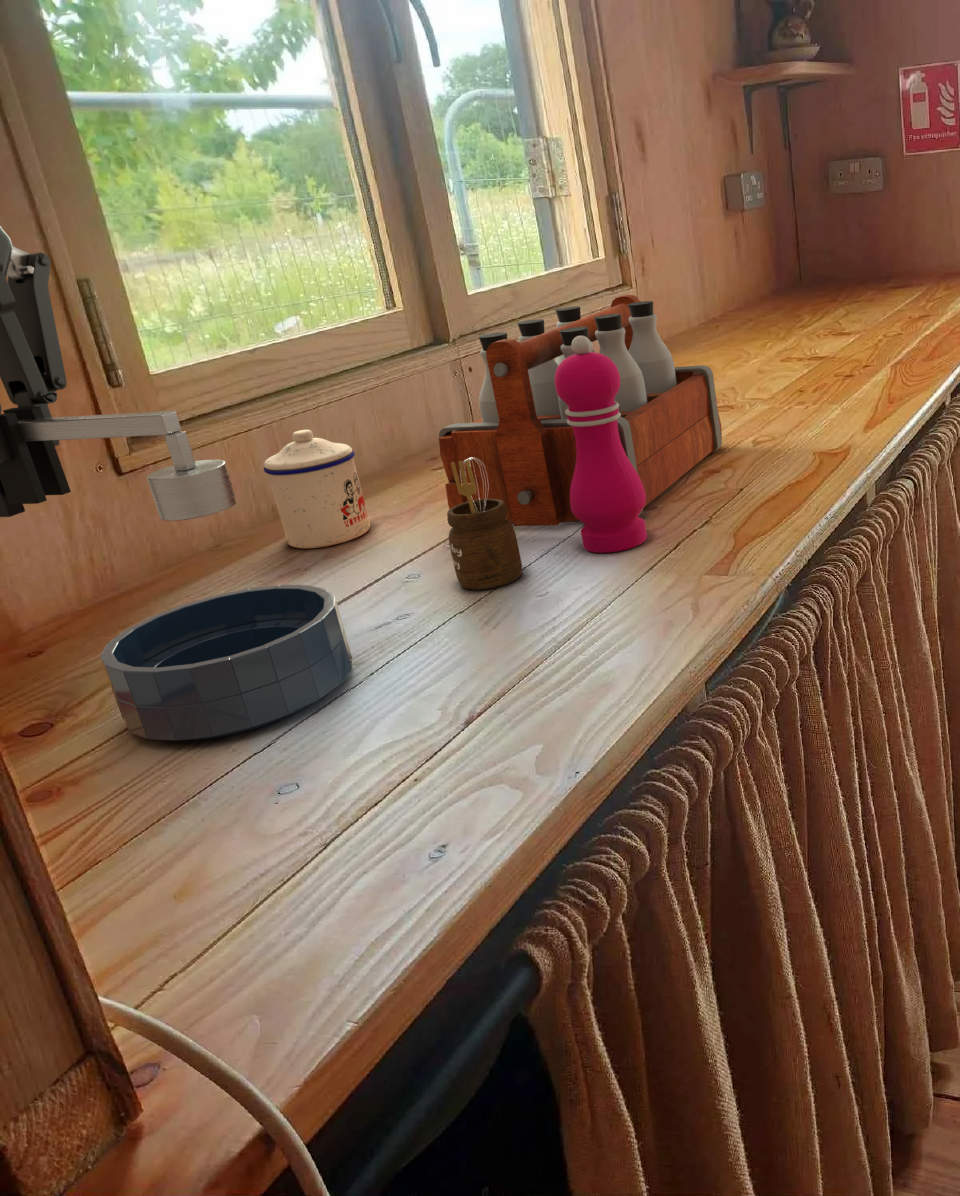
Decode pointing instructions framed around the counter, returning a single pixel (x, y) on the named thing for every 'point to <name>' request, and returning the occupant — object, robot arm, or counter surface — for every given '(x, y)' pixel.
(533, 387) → the milk bottle holder
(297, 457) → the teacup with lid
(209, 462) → the bent grey beam
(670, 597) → the counter surface
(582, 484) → the pepper mill
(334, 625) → the bowl
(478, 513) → the utensil holder
